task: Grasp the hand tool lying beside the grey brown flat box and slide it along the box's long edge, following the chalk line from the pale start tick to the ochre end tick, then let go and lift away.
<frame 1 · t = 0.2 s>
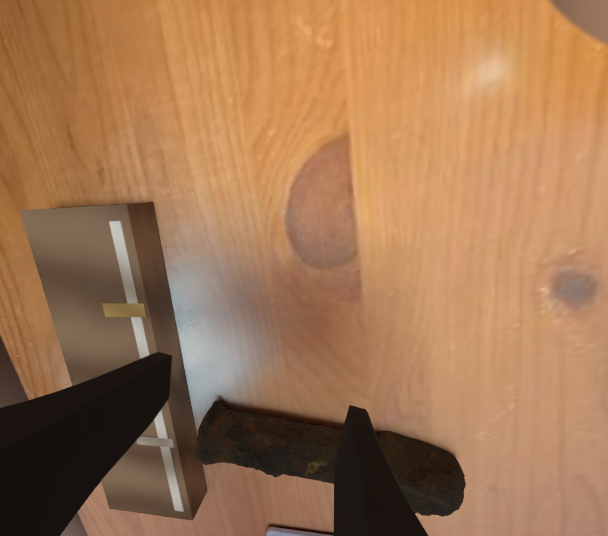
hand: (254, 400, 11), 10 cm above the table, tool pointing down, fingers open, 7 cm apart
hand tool: (328, 423, 23), on the table
grey brown flat box: (139, 364, 24), on the table
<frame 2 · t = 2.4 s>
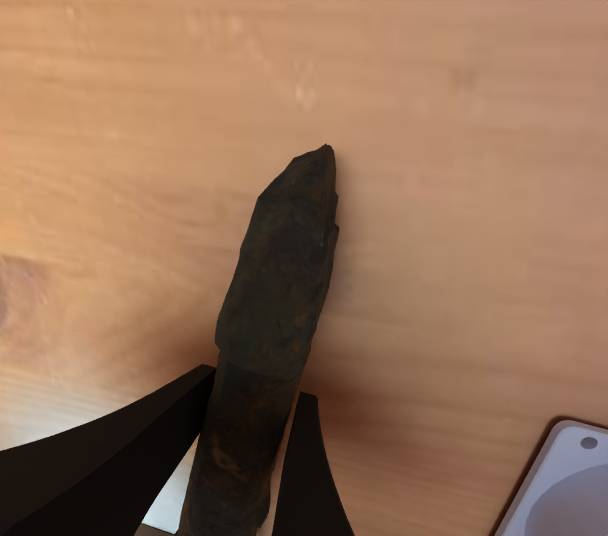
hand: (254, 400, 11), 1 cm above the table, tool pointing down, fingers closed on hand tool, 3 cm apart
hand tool: (256, 371, 13), on the table, touching gripper
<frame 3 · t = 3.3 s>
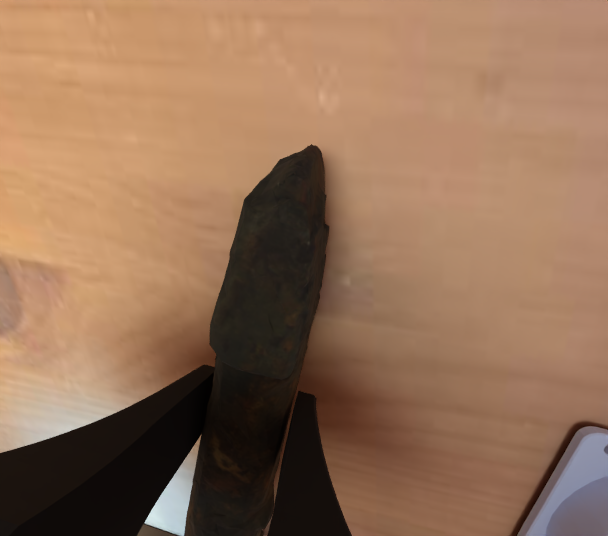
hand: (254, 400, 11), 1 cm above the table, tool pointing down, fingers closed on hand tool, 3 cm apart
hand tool: (256, 373, 13), on the table, touching gripper
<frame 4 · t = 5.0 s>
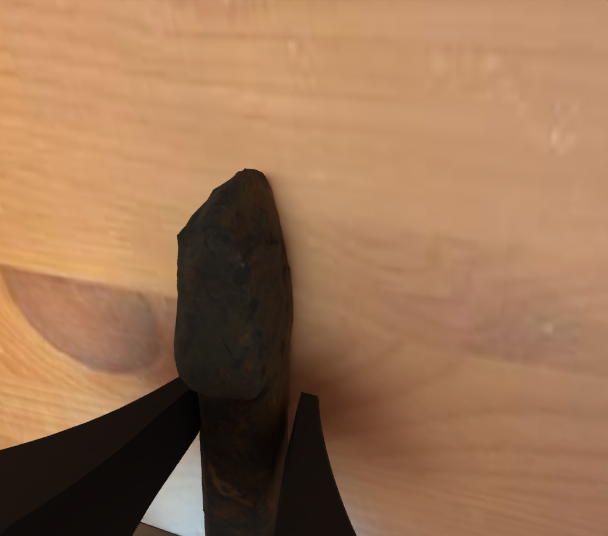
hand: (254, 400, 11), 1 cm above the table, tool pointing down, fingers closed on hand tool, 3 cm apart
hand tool: (253, 393, 13), on the table, touching gripper
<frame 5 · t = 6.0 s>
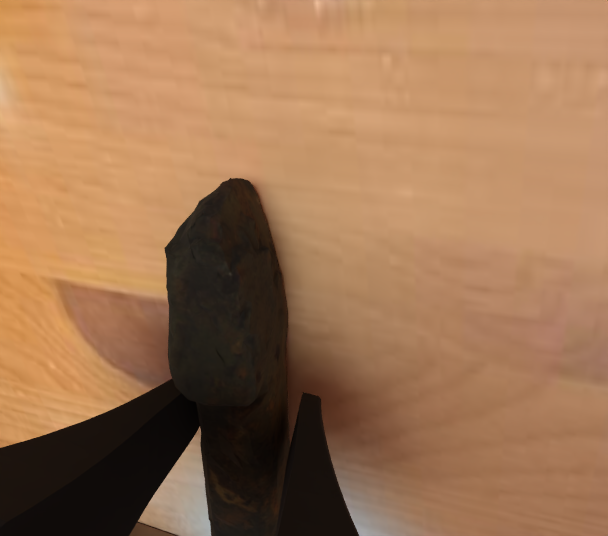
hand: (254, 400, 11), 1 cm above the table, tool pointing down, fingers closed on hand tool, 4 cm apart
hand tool: (254, 399, 13), on the table, touching gripper
when the fingers open (1 cm above the table, at t = 6.8 s): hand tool stays where it is, on the table.
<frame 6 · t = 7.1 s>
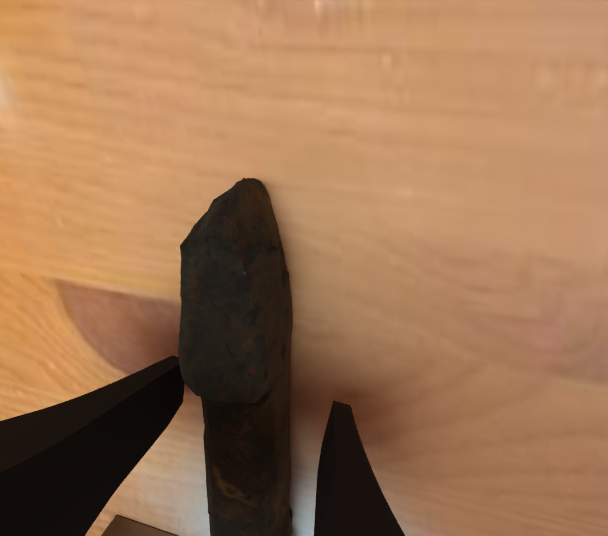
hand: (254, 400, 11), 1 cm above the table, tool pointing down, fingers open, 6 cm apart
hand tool: (255, 396, 14), on the table
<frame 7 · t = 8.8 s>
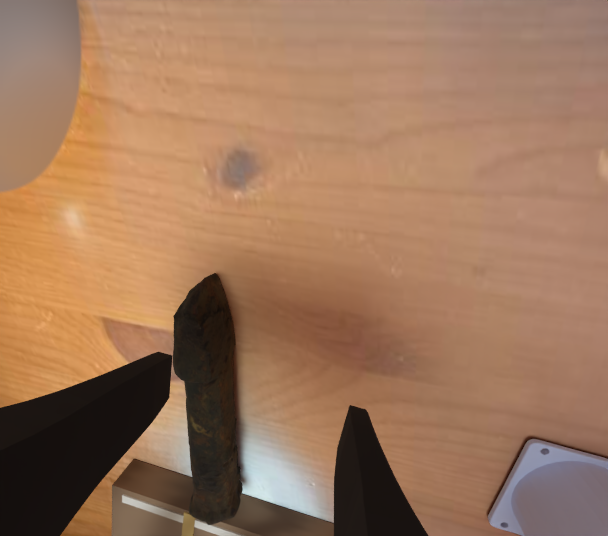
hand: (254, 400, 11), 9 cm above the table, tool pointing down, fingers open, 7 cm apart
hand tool: (218, 383, 24), on the table
grey brown flat box: (263, 534, 27), on the table
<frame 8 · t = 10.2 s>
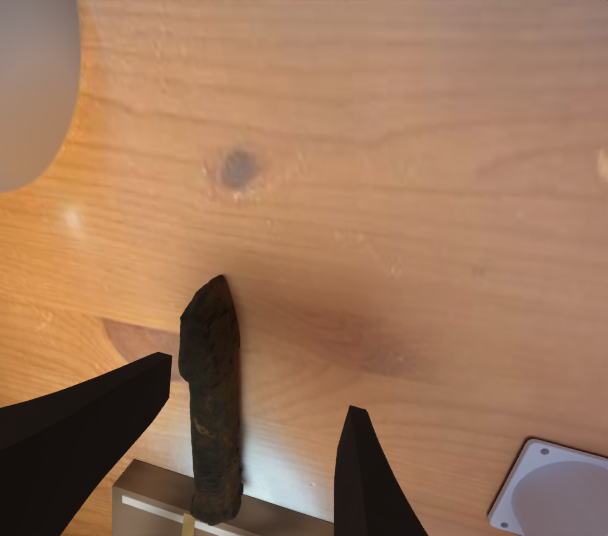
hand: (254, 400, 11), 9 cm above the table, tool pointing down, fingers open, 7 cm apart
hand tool: (221, 384, 24), on the table
grey brown flat box: (263, 535, 27), on the table
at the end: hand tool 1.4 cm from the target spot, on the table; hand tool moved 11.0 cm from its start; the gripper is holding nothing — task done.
